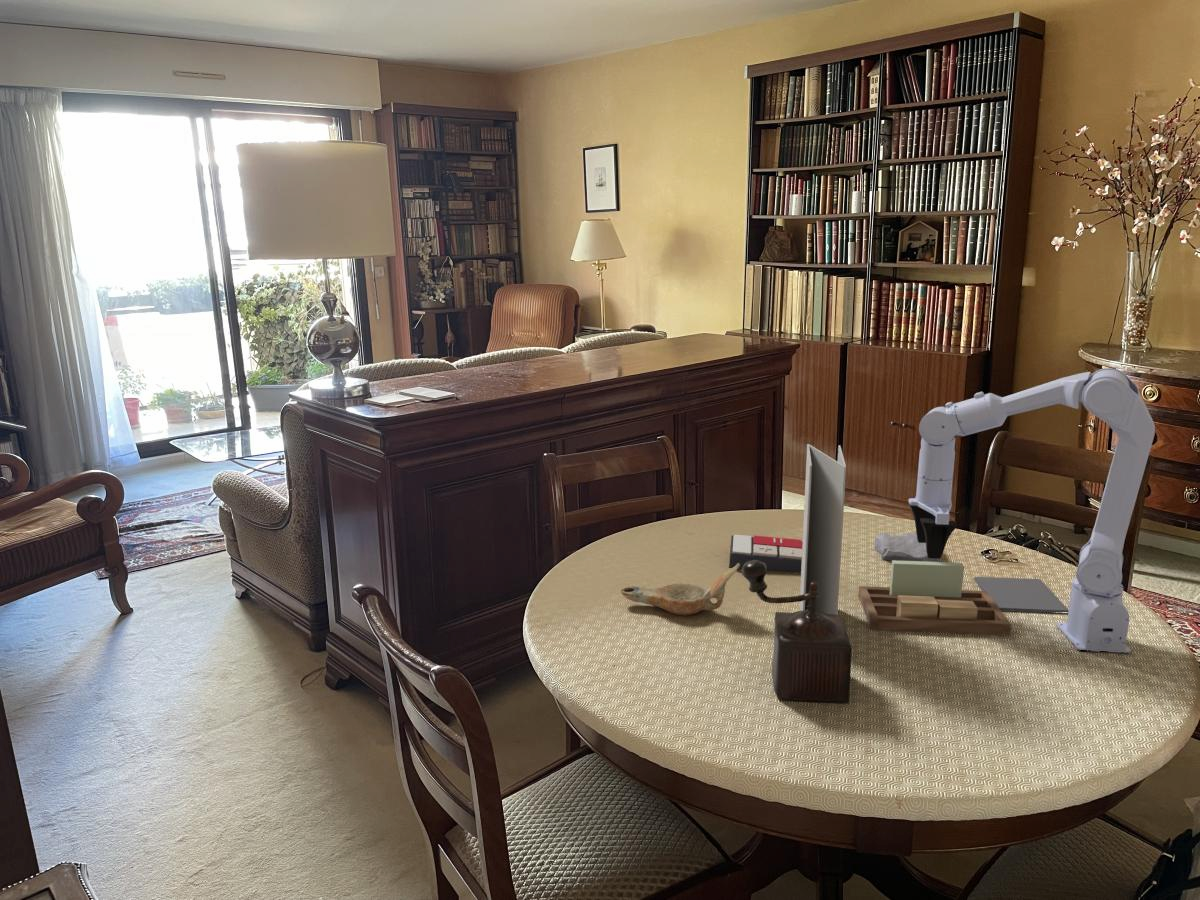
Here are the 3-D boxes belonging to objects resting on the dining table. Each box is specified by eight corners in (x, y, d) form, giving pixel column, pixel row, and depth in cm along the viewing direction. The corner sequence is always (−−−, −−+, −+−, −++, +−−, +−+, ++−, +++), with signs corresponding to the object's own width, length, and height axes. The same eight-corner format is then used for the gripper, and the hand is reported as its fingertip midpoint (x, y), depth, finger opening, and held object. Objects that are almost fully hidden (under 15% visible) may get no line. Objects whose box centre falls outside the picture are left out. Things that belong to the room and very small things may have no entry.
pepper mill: (839, 666, 133) (845, 558, 129) (850, 705, 122) (858, 588, 118) (738, 662, 135) (741, 555, 130) (740, 699, 124) (744, 584, 120)
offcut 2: (975, 630, 145) (977, 608, 144) (938, 628, 145) (940, 607, 144) (970, 622, 148) (972, 601, 147) (934, 620, 148) (936, 599, 147)
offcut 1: (936, 628, 146) (938, 604, 144) (899, 626, 146) (901, 602, 145) (931, 620, 148) (933, 596, 147) (895, 619, 149) (897, 595, 148)
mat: (1068, 613, 150) (1069, 610, 150) (996, 610, 152) (997, 607, 151) (1039, 582, 163) (1040, 579, 163) (974, 579, 165) (974, 576, 165)
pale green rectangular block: (960, 607, 153) (964, 566, 151) (890, 605, 155) (893, 563, 153) (957, 604, 155) (961, 562, 153) (888, 601, 156) (891, 560, 154)
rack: (1009, 635, 142) (1011, 624, 142) (871, 629, 145) (871, 618, 145) (985, 601, 155) (986, 591, 155) (858, 596, 158) (859, 586, 158)
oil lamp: (735, 626, 147) (736, 572, 145) (615, 613, 153) (614, 561, 150) (740, 606, 155) (742, 554, 153) (626, 594, 161) (626, 544, 159)
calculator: (807, 557, 169) (730, 549, 171) (805, 577, 170) (728, 570, 172) (804, 538, 179) (731, 531, 181) (802, 557, 180) (730, 550, 183)
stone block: (942, 573, 173) (929, 547, 182) (944, 553, 171) (932, 527, 180) (882, 574, 174) (872, 547, 183) (883, 554, 172) (873, 528, 181)
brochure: (835, 642, 141) (846, 467, 133) (801, 640, 142) (809, 465, 134) (831, 606, 154) (840, 445, 147) (799, 604, 155) (807, 444, 148)
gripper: (902, 464, 156) (897, 535, 160) (920, 487, 142) (914, 564, 146) (943, 465, 155) (936, 536, 159) (965, 489, 141) (957, 565, 145)
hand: (928, 549), depth 152 cm, fingers open, 7 cm apart
